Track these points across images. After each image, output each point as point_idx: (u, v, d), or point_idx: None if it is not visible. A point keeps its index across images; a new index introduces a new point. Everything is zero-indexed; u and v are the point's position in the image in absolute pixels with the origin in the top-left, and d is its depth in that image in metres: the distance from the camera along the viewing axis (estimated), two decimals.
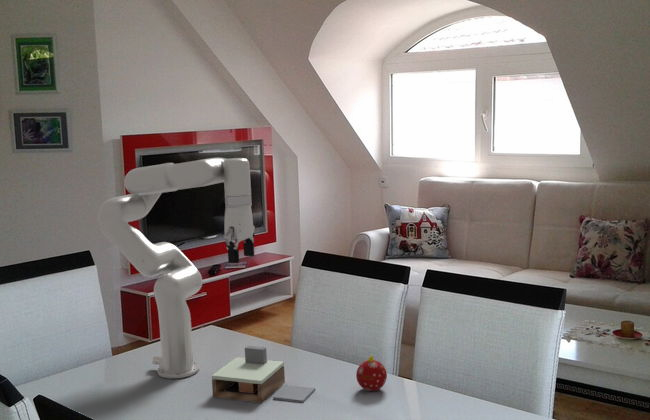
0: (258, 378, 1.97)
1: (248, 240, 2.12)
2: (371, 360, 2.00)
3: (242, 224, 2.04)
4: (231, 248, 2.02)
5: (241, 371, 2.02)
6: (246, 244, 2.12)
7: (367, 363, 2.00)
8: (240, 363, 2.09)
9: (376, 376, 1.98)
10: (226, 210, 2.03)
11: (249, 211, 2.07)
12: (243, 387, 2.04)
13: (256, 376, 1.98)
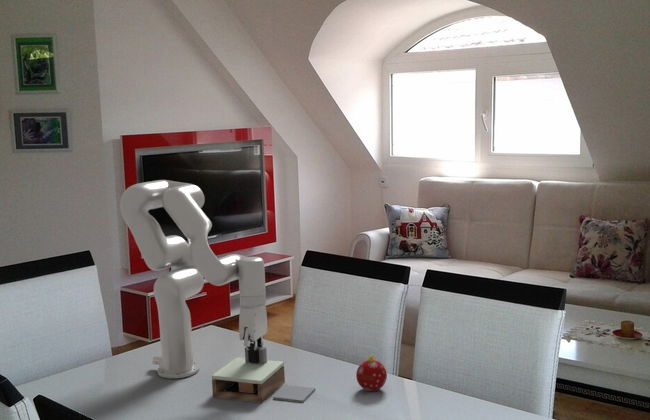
0: (258, 378, 1.97)
1: (257, 344, 2.10)
2: (371, 360, 2.00)
3: (257, 324, 2.04)
4: None
5: (241, 371, 2.02)
6: None
7: (367, 363, 2.00)
8: (240, 363, 2.09)
9: (376, 376, 1.98)
10: (241, 310, 2.04)
11: (263, 309, 2.08)
12: (242, 387, 2.04)
13: (256, 376, 1.98)
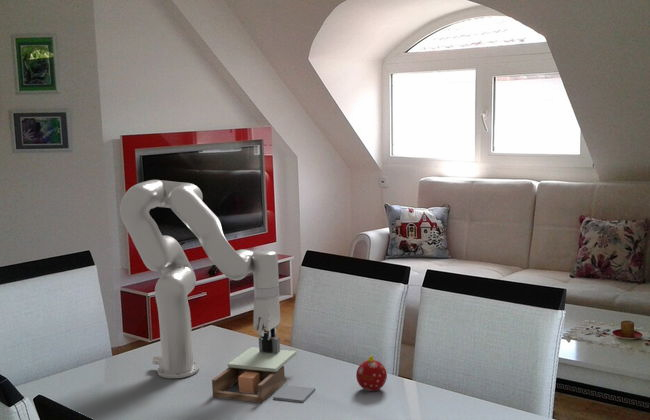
0: (272, 366, 2.06)
1: (271, 334, 2.19)
2: (371, 360, 2.00)
3: (270, 315, 2.13)
4: None
5: (256, 360, 2.11)
6: None
7: (367, 363, 2.00)
8: (254, 352, 2.18)
9: (376, 376, 1.98)
10: (255, 301, 2.12)
11: (277, 301, 2.17)
12: (243, 387, 2.04)
13: (270, 364, 2.07)
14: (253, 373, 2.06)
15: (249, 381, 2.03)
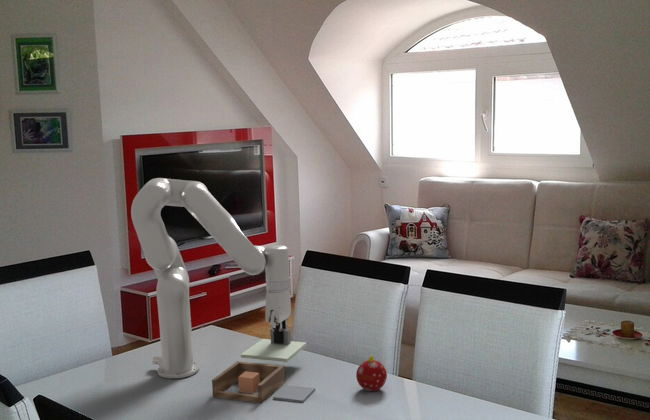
0: (284, 356, 2.13)
1: (282, 326, 2.27)
2: (371, 360, 2.00)
3: (282, 307, 2.21)
4: None
5: (268, 351, 2.19)
6: None
7: (367, 363, 2.00)
8: (266, 344, 2.26)
9: (376, 376, 1.98)
10: (267, 294, 2.20)
11: (288, 294, 2.25)
12: (243, 387, 2.04)
13: (282, 355, 2.15)
14: (253, 373, 2.06)
15: (249, 381, 2.03)
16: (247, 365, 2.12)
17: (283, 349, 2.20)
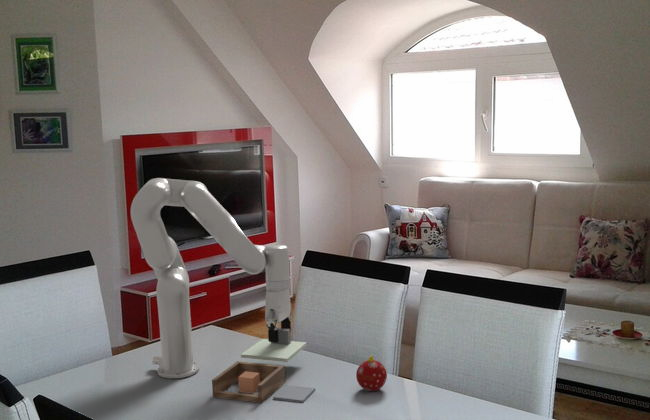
0: (284, 356, 2.13)
1: (285, 318, 2.30)
2: (371, 360, 2.00)
3: (281, 306, 2.21)
4: (271, 329, 2.19)
5: (268, 351, 2.19)
6: (283, 322, 2.30)
7: (367, 363, 2.00)
8: (266, 344, 2.26)
9: (376, 376, 1.98)
10: (267, 294, 2.20)
11: (287, 293, 2.25)
12: (243, 387, 2.04)
13: (282, 355, 2.15)
14: (253, 373, 2.06)
15: (249, 381, 2.03)
16: (247, 365, 2.12)
17: (283, 349, 2.20)
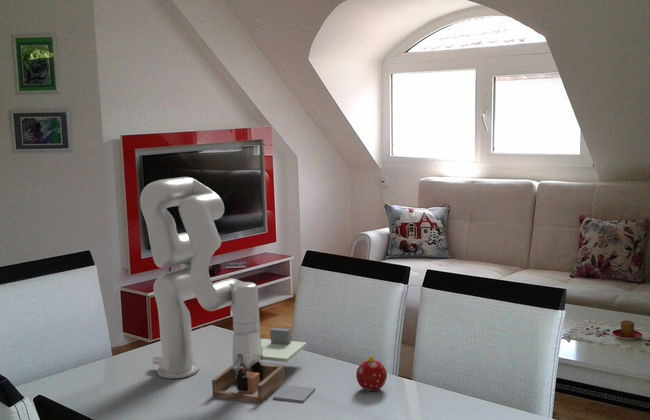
0: (284, 356, 2.13)
1: (256, 363, 2.09)
2: (371, 360, 2.00)
3: (250, 351, 2.00)
4: (240, 377, 1.99)
5: (268, 351, 2.19)
6: (254, 367, 2.09)
7: (367, 363, 2.00)
8: (266, 344, 2.26)
9: (376, 376, 1.98)
10: (234, 337, 2.00)
11: (257, 335, 2.04)
12: None
13: (282, 355, 2.15)
14: (253, 373, 2.06)
15: (249, 381, 2.03)
16: None
17: (283, 349, 2.20)
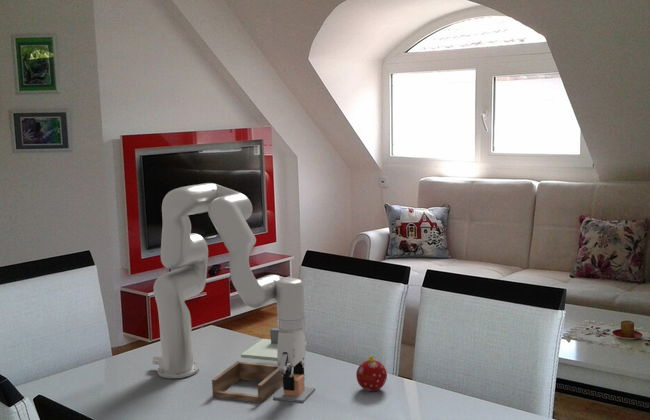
0: None
1: (298, 364, 2.03)
2: (371, 360, 2.00)
3: (296, 349, 1.95)
4: (287, 376, 1.95)
5: (268, 351, 2.19)
6: (296, 368, 2.03)
7: (367, 363, 2.00)
8: (266, 344, 2.26)
9: (376, 376, 1.98)
10: (279, 334, 1.95)
11: (302, 333, 1.99)
12: None
13: None
14: (298, 375, 2.01)
15: (295, 384, 1.98)
16: (247, 365, 2.12)
17: None
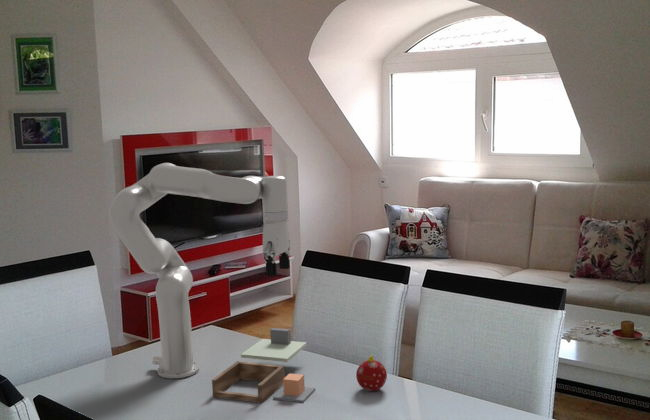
0: (284, 356, 2.13)
1: (284, 253, 2.22)
2: (371, 360, 2.00)
3: (279, 239, 2.14)
4: (269, 262, 2.12)
5: (268, 351, 2.19)
6: (282, 257, 2.22)
7: (367, 363, 2.00)
8: (266, 344, 2.26)
9: (376, 376, 1.98)
10: (264, 225, 2.13)
11: (285, 226, 2.17)
12: (288, 389, 1.99)
13: (282, 355, 2.15)
14: (298, 375, 2.01)
15: (295, 384, 1.98)
16: (247, 365, 2.12)
17: (283, 349, 2.20)
